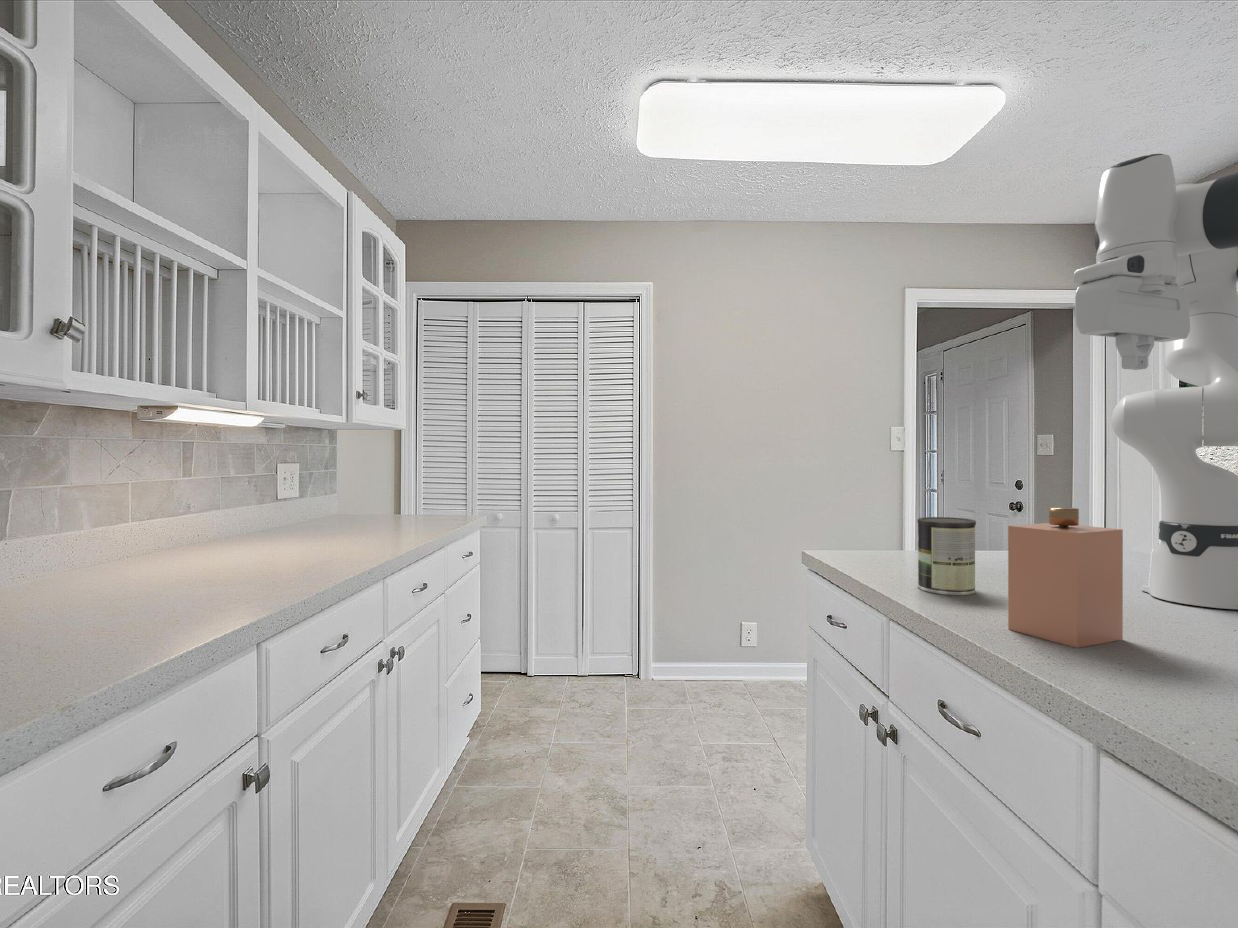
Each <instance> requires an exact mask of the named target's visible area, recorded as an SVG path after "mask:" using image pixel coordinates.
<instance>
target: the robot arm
mask: <svg viewBox="0 0 1238 928" xmlns="http://www.w3.org/2000/svg"><path fill="white" fill-rule="evenodd" d="M1094 247H1095V250H1096V256H1095V264H1091V265H1090V264H1089V265H1087V266H1085V267H1081V268H1077V269H1076V270H1075V271H1074V273H1073V282H1074V285H1076V286H1078V287H1077V289H1076V290H1075V295H1074V316H1075V326H1076V328H1077V329H1078V331H1079V333H1080V334H1081V335H1088V336H1096V337H1106V338H1108V337H1109V338H1115V347H1116V349H1117V351H1118V354H1119V356H1120V357H1121V368H1122V369H1123V370H1134V371H1138V370H1147V368H1148V367H1149V356H1150V354H1151V352H1152V351H1153V348H1154V346H1155V342H1157V343H1164V357H1163V360H1164V361H1163V363H1164V367H1165V369H1166V370H1167V372H1168V373H1170V374H1171V376H1173V377H1174V378H1176V380H1179V381H1180V382H1183V383H1186V384H1189V385H1194V386H1186V387H1169V388H1157V389H1156V388H1154V389H1150V390H1145V391H1141V392H1136V393H1130V394H1127V395H1124V396H1123V397H1122V398H1121V399H1120V400H1119V401H1118V402H1117V404H1116V405H1115V407H1114V409H1113V410H1112V413H1111V420H1110V421H1111V427H1112V429H1113V431H1114V433H1115V435H1116V437H1117V438H1118V439H1119V440H1120V441H1122V442H1123V443H1124V444H1126V445H1128V446H1130V447H1132V448H1133V449H1134V450H1136V451H1137V452H1138V453H1140V454H1141V455H1142V456H1143V457H1144V458H1146V460H1147V461H1148V462H1149V463H1150V465H1151V466H1152V467H1153V470H1154V471H1155V474H1156V476H1157V478H1158V481H1159V488H1160V494H1161V495H1160V497H1161V518H1162V519H1161V520H1160V521H1159V525H1158V527H1157V532H1158V539H1159V540H1160V543H1159V544H1158V546H1156V547H1154V548H1153V549H1152V550H1151V554H1150V564H1149V575H1148V584H1141V588H1140V590H1141V591H1143V592H1145V593H1147V594H1149V595H1150V596H1152V597H1154V598H1157V599H1160V600H1164V601H1167V602H1173V603H1177V604H1184V605H1191V606H1198V607H1205V608H1212V609H1213V608H1215V609H1227V610H1238V474H1236V473H1234V472H1233V471H1230V470H1228V469H1225V468H1223V467H1220V466H1217V465H1215V464H1211V463H1209V462H1206V461H1204V460H1202V459H1201V458H1200V457H1199V456H1198V454H1197V450H1198V449H1199V448H1203V447H1238V288H1237V283H1238V172H1235V173H1231V174H1228V175H1224V176H1221V177H1219V178H1216V179H1212V180H1209V181H1205V182H1201V183H1191V182H1190V183H1180V184H1176V179H1175V172H1174V166H1173V161H1172V158H1171V156H1170V155H1169V154H1167V153H1166V154H1164V153H1152V154H1148V155H1147V154H1146V155H1142V156H1138V157H1135V158H1131V159H1128V160H1125V161H1121V162H1119V163H1117V164H1114V165H1112V166H1110V167H1109V168H1108V169H1106V170H1105V171H1104V172H1103V173H1102V176H1101V179H1100V184H1099V188H1098V196H1097V202H1096V219H1095V222H1094Z"/></svg>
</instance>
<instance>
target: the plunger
mask: <svg viewBox="0 0 1238 928" xmlns="http://www.w3.org/2000/svg"><path fill="white" fill-rule="evenodd" d="M1048 523H1049V524H1051V525H1059V528H1063V529H1069V526H1078V525H1079V524H1080V509H1079V508H1076V507H1075V508H1074V507H1058V506H1057V507H1048Z"/></svg>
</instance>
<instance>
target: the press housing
mask: <svg viewBox="0 0 1238 928" xmlns="http://www.w3.org/2000/svg"><path fill="white" fill-rule="evenodd" d="M1007 530H1008V531H1007V532H1008V533H1007V537H1008V539H1007V541H1008V543H1007V547H1008V549H1007V550H1008V551H1007V554H1008V555H1007V560H1008V561H1007V562H1008V563H1007V566H1008V569H1007V571H1008V574H1007V575H1008V576H1007V581H1008V583H1007V585H1008V587H1007V591H1008V593H1007V595H1008V596H1007V597H1008V599H1007V600H1008V601H1007V603H1008V605H1007V607H1008V608H1007V609H1008V620H1007V621H1008V622H1007V625H1008V630H1010V631H1014V632H1017V633H1021V634H1024V635H1028V636H1032V637H1036V638H1040V639H1042V640H1045V641H1046V640H1047V641H1050V642H1053V643H1058V644H1062V645H1065V646H1069V647H1072V648H1076V649H1079V648H1083V647H1089V646H1093V645H1095V646H1096V645H1099V644H1107V643H1110V642H1116V641H1121V640H1122V641H1123V630H1124V629H1123V628H1124V627H1123V624H1124V622H1123V620H1124V619H1123V618H1124V617H1123V616H1124V615H1123V614H1124V613H1123V611H1124V609H1123V603H1124V602H1123V599H1124V597H1123V594H1124V593H1123V591H1124V590H1123V585H1124V583H1123V581H1124V580H1123V574H1124V573H1123V571H1124V569H1123V568H1124V567H1123V565H1124V564H1123V563H1124V562H1123V561H1124V560H1123V558H1124V557H1123V554H1124V553H1123V552H1124V551H1123V549H1124V548H1123V547H1124V545H1123V543H1124V542H1123V541H1124V536H1123V534H1124V532H1123V531H1124V530H1123V528H1122V529H1121V528H1120V529H1119V528H1112V527H1110V528H1109V527H1098V526H1089V525H1078V526H1069V529H1063V528H1059V525H1051V524H1049V522H1045V523H1044V522H1043V523H1029V524H1028V523H1027V524H1017V525H1015V524H1014V525H1008V526H1007Z"/></svg>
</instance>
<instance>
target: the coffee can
mask: <svg viewBox="0 0 1238 928" xmlns="http://www.w3.org/2000/svg"><path fill="white" fill-rule="evenodd" d="M916 521H917V528H918V530H917V534H918V535H917V539H918V540H917V541H918V542H917V549H918V551H917V553H918V555H917V556H918V557H917V561H918V564H917V567H918V570H917V571H918V575H917V576H918V577H917V579H918V581H917V582H918V584H917V588H918V589H919V590H921V591H923V592H926V593H930V594H935V595H936V594H937V595H945V596H946V595H947V596H969V595H973V594H975V593H976V524H977V521H976V520H974V519H972V518H964V517H962V518H961V517H949V516H948V517H947V516H946V517H944V516H940V517H939V516H928V517H927V516H925V517H919V518H917V520H916Z"/></svg>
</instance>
